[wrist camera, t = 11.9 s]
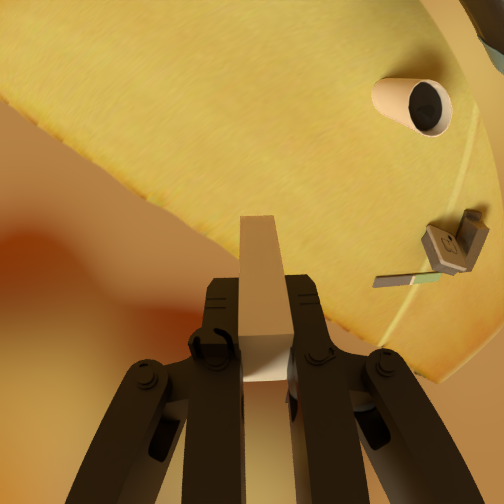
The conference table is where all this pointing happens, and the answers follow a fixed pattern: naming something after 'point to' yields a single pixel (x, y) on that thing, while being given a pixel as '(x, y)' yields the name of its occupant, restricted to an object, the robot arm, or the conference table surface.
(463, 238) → the block
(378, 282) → the green and grey strip
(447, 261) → the electrical switch
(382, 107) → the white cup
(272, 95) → the conference table surface
